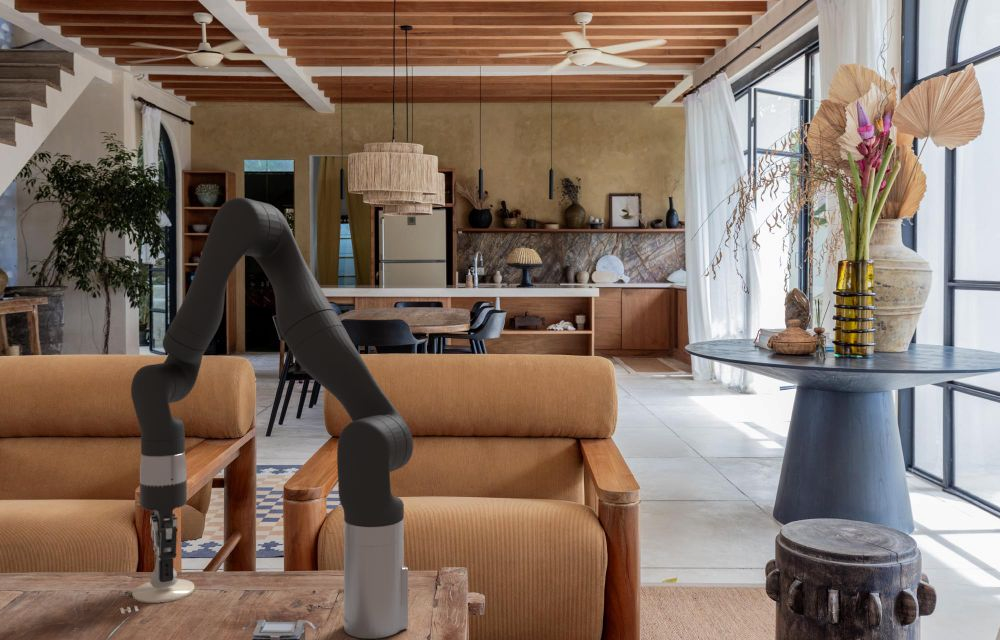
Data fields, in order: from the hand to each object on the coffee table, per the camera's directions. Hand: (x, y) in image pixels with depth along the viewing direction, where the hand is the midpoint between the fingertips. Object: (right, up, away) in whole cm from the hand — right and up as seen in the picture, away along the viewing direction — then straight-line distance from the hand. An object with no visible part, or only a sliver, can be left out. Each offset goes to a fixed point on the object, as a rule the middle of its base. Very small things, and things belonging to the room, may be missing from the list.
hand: (164, 576), depth 149 cm
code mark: (-3, -3, -8) cm, 9 cm away
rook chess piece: (0, -2, 0) cm, 2 cm away
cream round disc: (0, -3, 0) cm, 3 cm away
